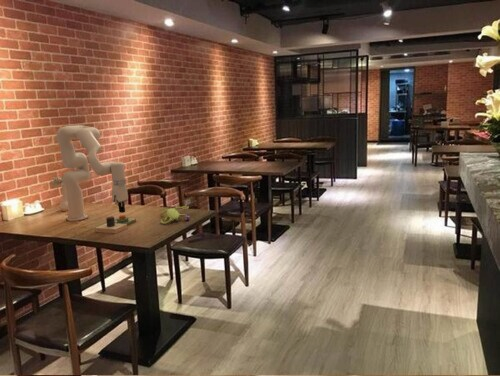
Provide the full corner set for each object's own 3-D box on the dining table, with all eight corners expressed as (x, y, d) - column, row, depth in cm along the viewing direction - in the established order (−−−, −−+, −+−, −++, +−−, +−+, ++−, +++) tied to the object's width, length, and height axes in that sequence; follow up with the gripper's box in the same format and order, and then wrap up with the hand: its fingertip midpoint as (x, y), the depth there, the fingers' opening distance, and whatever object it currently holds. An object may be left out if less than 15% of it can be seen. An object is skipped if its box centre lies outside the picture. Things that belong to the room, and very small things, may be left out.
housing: (109, 225, 257) (109, 219, 256) (119, 220, 266) (119, 215, 266) (126, 226, 253) (125, 220, 253) (136, 221, 262) (135, 216, 262)
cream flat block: (95, 232, 243) (94, 227, 243) (107, 226, 254) (107, 222, 253) (115, 233, 239) (115, 229, 238) (127, 228, 249) (126, 223, 248)
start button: (118, 219, 258) (118, 216, 258) (121, 217, 261) (121, 214, 261) (123, 219, 257) (123, 216, 257) (126, 217, 260) (126, 215, 260)
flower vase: (62, 207, 310) (58, 173, 306) (82, 208, 304) (78, 174, 299) (48, 211, 298) (43, 176, 294) (69, 213, 292) (64, 177, 287)
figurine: (188, 212, 282) (188, 204, 281) (191, 222, 256) (191, 213, 255) (160, 214, 279) (160, 206, 278) (160, 225, 253) (159, 216, 252)
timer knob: (112, 227, 243) (111, 218, 242) (105, 226, 244) (104, 217, 243) (116, 225, 247) (115, 216, 246) (109, 224, 248) (108, 215, 247)
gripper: (121, 180, 263) (124, 209, 267) (106, 184, 249) (109, 215, 253) (131, 180, 261) (134, 209, 264) (116, 185, 247) (119, 215, 250)
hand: (122, 212), depth 258 cm, fingers closed
